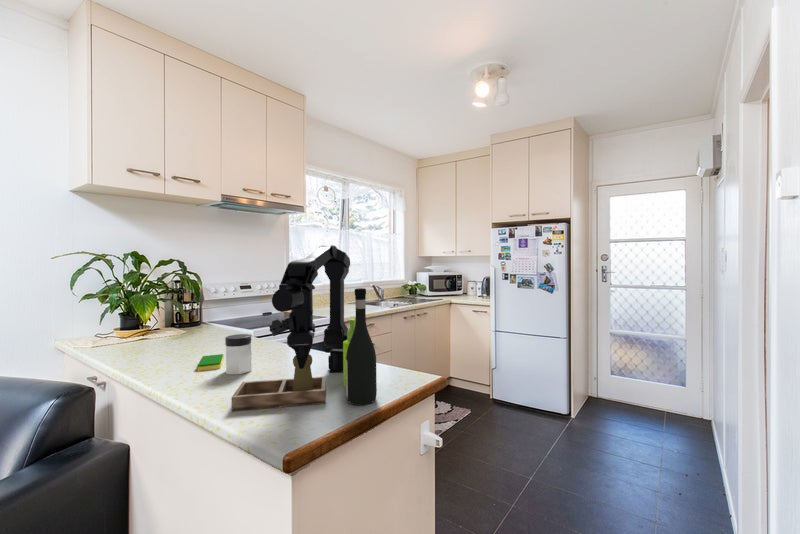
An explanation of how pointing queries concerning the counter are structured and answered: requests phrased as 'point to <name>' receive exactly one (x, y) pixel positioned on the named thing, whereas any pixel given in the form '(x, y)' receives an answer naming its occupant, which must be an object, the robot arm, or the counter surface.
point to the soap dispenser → (347, 344)
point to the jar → (238, 354)
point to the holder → (277, 394)
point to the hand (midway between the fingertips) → (302, 363)
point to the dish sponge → (210, 362)
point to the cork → (303, 376)
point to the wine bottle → (361, 358)
